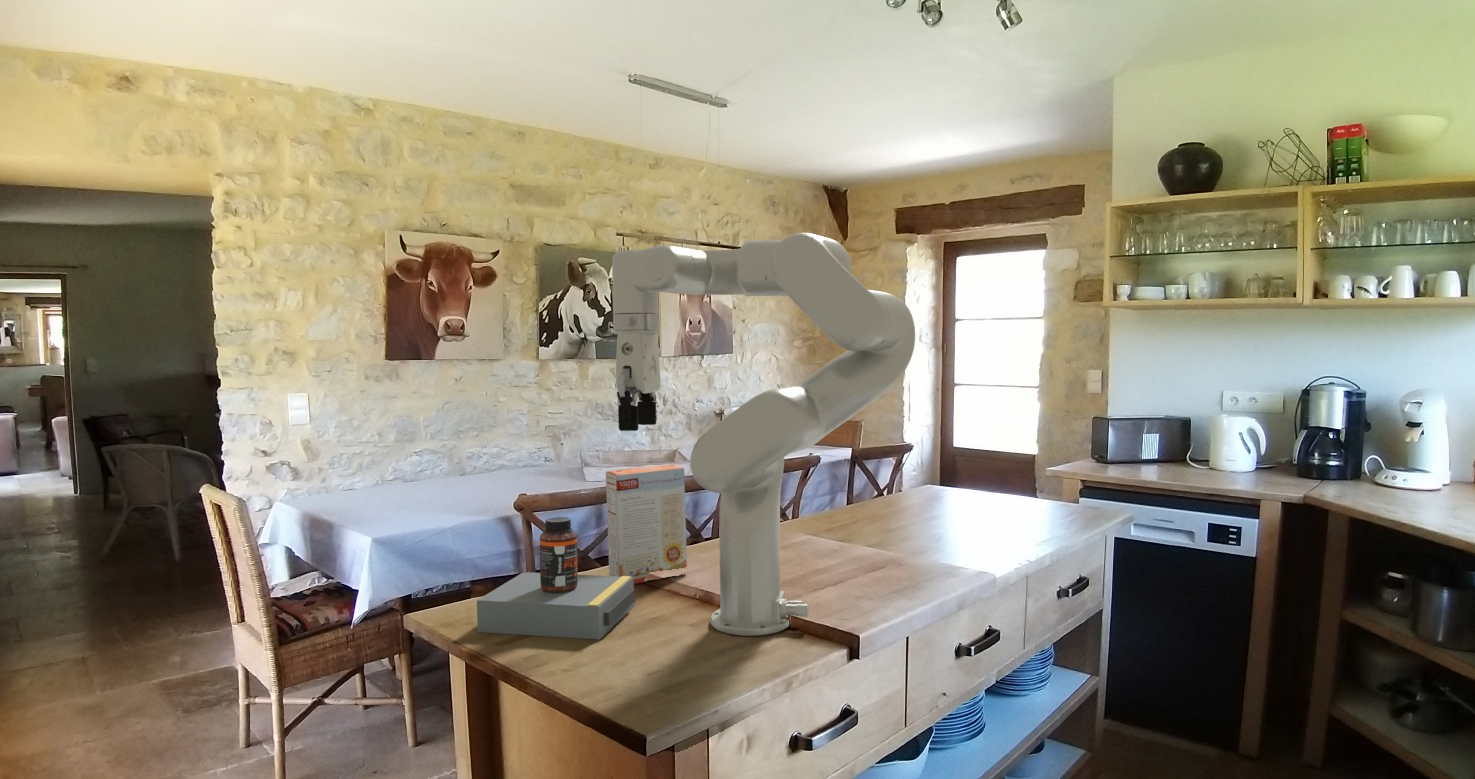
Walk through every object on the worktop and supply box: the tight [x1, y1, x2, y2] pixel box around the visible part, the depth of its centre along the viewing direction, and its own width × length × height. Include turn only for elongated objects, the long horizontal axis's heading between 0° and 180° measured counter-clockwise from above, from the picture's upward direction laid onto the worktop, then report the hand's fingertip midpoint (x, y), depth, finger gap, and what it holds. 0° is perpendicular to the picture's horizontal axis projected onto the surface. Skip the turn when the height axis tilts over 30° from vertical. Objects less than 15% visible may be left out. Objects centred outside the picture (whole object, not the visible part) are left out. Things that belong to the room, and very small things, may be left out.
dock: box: [476, 571, 636, 641], centre depth 135 cm, size 21×16×5 cm
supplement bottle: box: [539, 516, 579, 592], centre depth 134 cm, size 6×6×11 cm
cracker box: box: [605, 464, 688, 585], centre depth 158 cm, size 14×6×21 cm, turn 120°
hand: (638, 427), depth 140 cm, fingers open, 9 cm apart
